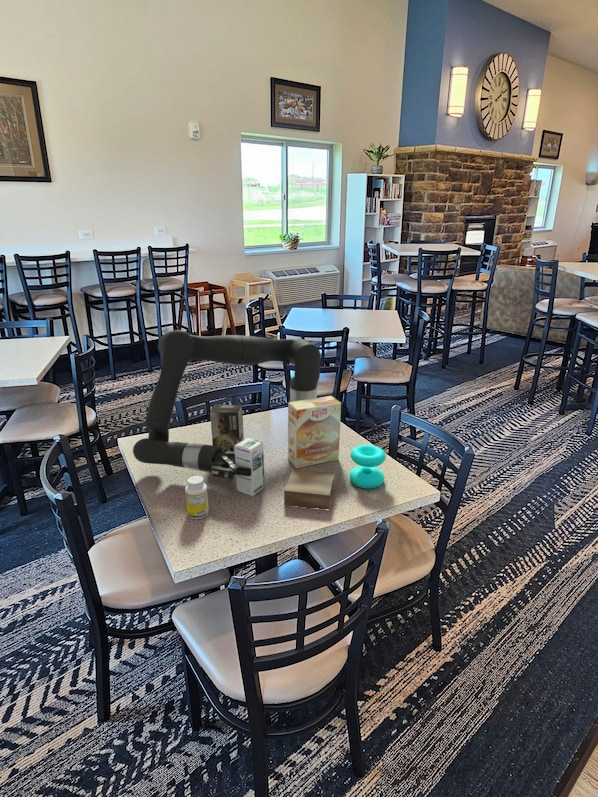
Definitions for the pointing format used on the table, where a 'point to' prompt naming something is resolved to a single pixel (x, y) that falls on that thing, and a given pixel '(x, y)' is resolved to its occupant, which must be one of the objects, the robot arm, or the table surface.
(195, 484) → the supplement bottle
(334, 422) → the coffeecake box
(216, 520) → the table surface
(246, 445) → the syrup box
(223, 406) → the coffee box
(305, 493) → the walnut riser
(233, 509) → the table surface
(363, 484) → the donuts
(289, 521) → the table surface
